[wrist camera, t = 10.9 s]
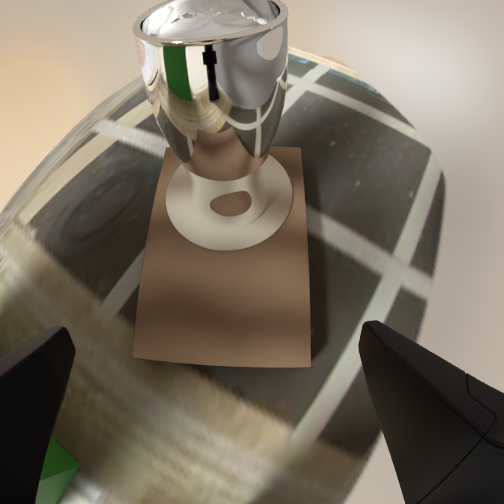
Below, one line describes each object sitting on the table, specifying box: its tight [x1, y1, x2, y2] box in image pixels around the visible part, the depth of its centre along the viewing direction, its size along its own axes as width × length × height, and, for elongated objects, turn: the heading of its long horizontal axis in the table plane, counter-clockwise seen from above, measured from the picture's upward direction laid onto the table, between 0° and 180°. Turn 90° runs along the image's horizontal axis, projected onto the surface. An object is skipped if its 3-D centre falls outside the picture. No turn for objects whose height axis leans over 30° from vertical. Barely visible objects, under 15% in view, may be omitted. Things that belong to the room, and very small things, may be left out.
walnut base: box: [132, 146, 311, 368], centre depth 23 cm, size 18×12×2 cm, turn 179°
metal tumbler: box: [133, 0, 288, 228], centre depth 16 cm, size 7×7×15 cm
